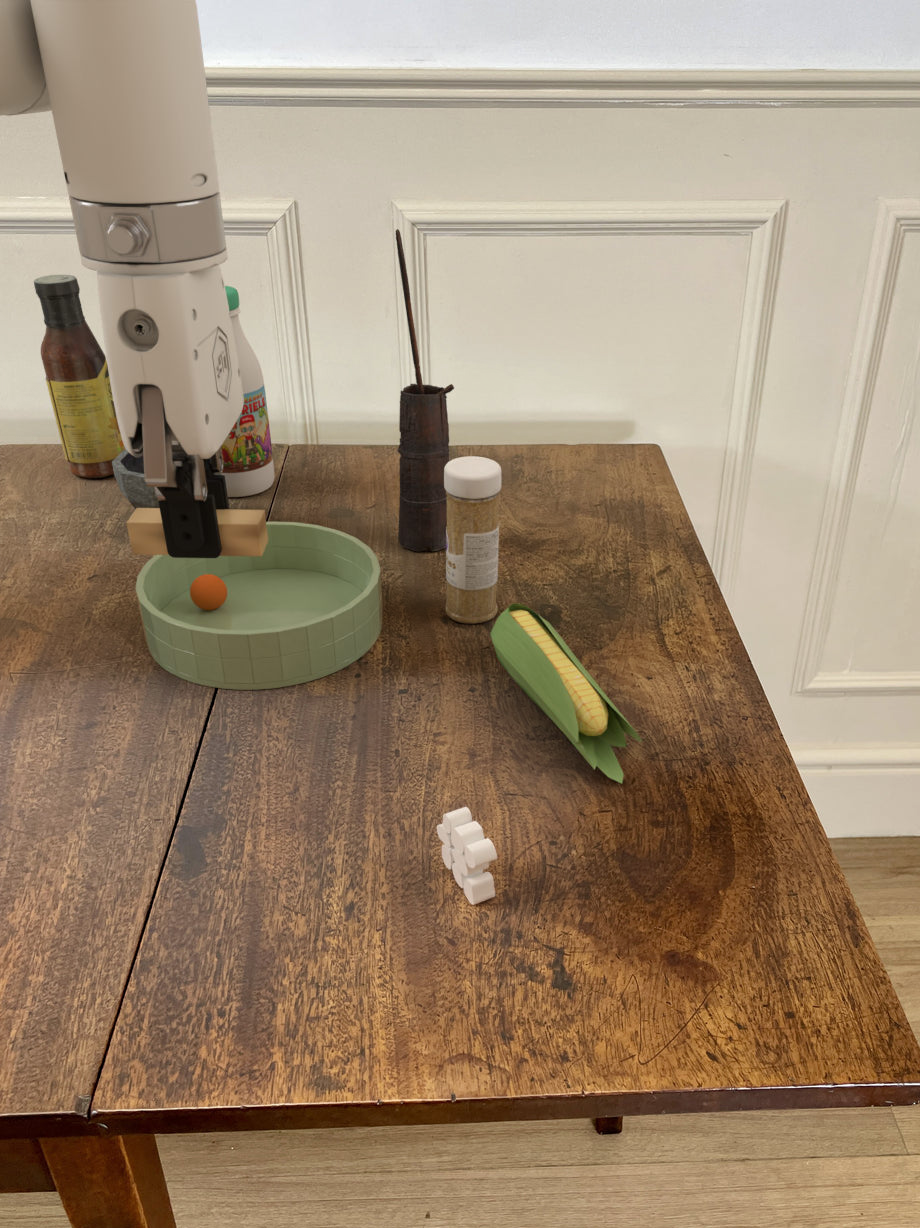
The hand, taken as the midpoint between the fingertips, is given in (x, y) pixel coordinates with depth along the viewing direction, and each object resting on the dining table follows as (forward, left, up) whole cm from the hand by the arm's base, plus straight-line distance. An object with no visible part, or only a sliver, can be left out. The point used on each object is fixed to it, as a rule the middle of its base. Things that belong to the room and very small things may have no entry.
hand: (201, 543), depth 65 cm
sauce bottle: (-26, +48, -16) cm, 56 cm away
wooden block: (0, 0, 0) cm, 0 cm away
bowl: (-1, +16, -15) cm, 22 cm away
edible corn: (+23, +5, -16) cm, 28 cm away
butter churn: (+12, +33, -16) cm, 38 cm away
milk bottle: (-10, +45, -16) cm, 48 cm away
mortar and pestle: (-13, +35, -15) cm, 40 cm away
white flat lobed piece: (+17, -13, -16) cm, 27 cm away
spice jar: (+16, +19, -16) cm, 29 cm away
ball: (-6, +17, -13) cm, 22 cm away
